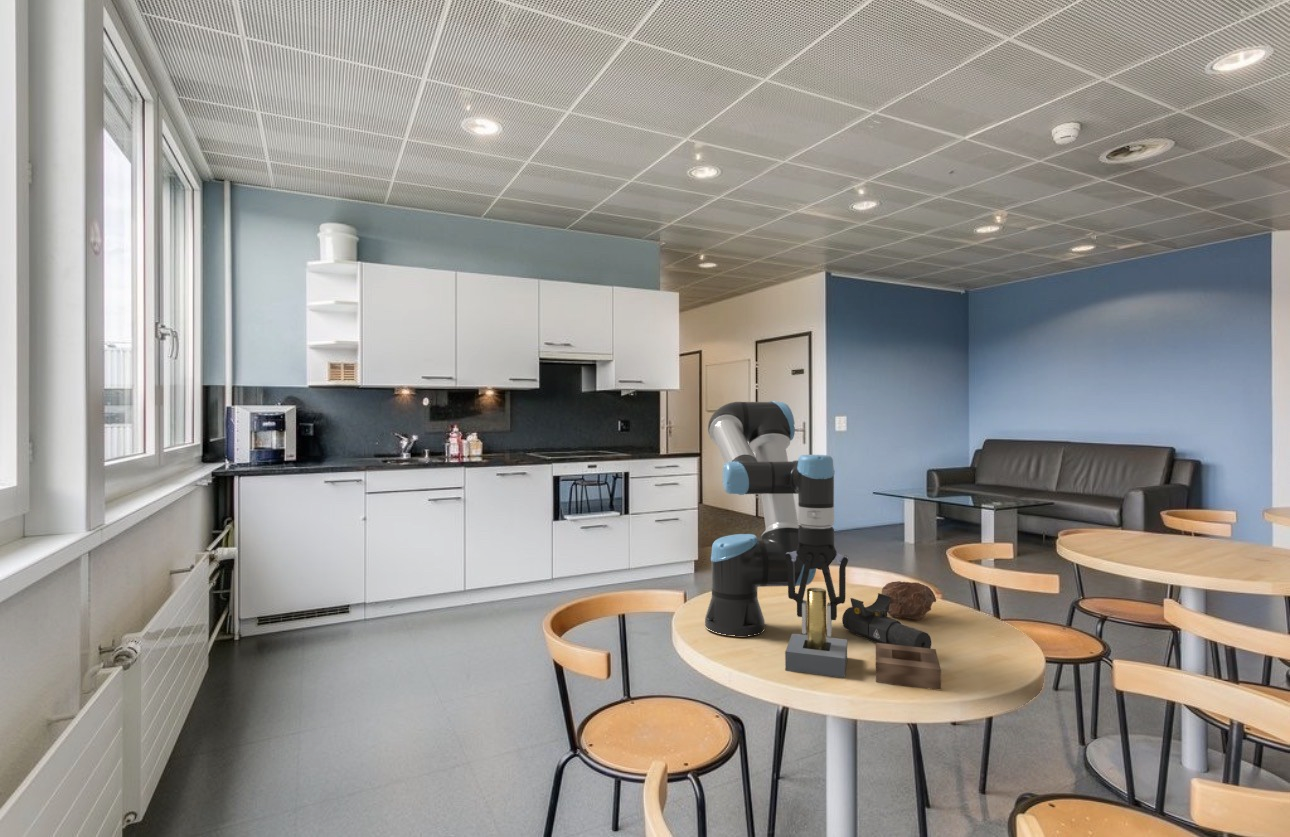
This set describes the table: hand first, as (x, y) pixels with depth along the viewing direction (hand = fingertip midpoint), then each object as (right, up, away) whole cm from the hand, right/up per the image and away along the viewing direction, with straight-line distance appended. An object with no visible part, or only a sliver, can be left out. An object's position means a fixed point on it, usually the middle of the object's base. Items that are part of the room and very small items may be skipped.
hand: (816, 632), depth 137 cm
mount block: (0, -7, 0) cm, 7 cm away
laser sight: (+19, -7, +13) cm, 25 cm away
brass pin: (0, -7, 0) cm, 7 cm away
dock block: (+17, -7, -6) cm, 19 cm away
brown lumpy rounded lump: (+33, -7, +32) cm, 47 cm away
